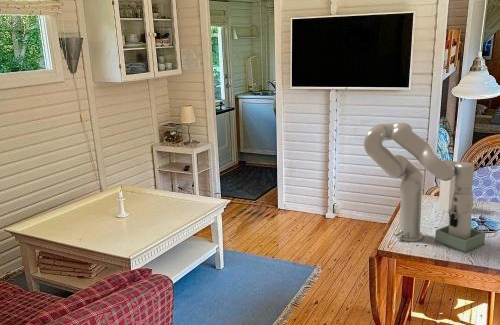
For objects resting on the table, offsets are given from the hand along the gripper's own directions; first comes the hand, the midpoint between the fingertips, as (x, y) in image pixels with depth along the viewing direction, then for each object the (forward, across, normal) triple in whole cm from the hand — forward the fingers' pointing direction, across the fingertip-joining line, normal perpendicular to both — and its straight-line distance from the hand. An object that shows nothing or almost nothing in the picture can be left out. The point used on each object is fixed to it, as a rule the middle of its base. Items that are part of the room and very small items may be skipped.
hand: (459, 223), depth 209 cm
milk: (+10, +33, +31) cm, 46 cm away
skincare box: (+9, 0, 0) cm, 9 cm away
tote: (+10, 0, 0) cm, 10 cm away
